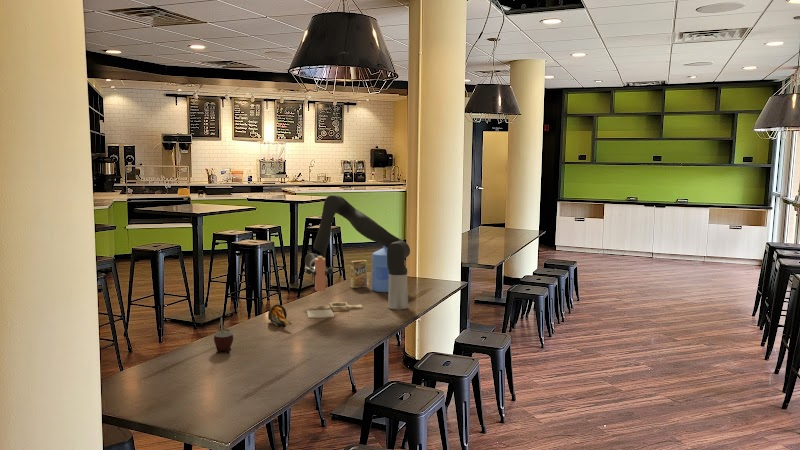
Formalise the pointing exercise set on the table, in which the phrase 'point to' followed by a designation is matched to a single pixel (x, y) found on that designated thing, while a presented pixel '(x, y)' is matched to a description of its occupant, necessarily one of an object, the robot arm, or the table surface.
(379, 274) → the water jug
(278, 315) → the fried shrimp in bowl
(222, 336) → the mate gourd
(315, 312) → the felt pad
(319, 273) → the salmon block with knob
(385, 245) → the robot arm
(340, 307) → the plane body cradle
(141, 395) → the table surface
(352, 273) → the candy box
